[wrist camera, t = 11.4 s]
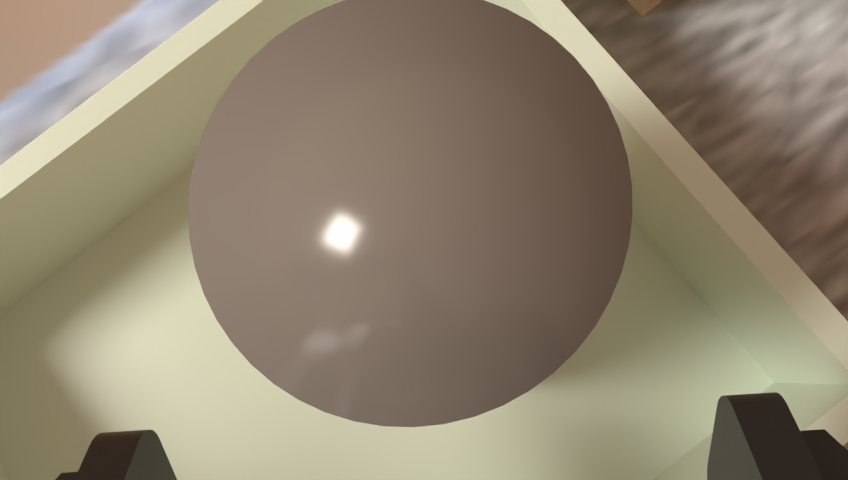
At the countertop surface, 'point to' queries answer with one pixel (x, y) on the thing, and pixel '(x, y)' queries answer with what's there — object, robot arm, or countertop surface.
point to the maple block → (643, 5)
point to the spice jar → (410, 209)
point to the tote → (335, 436)
